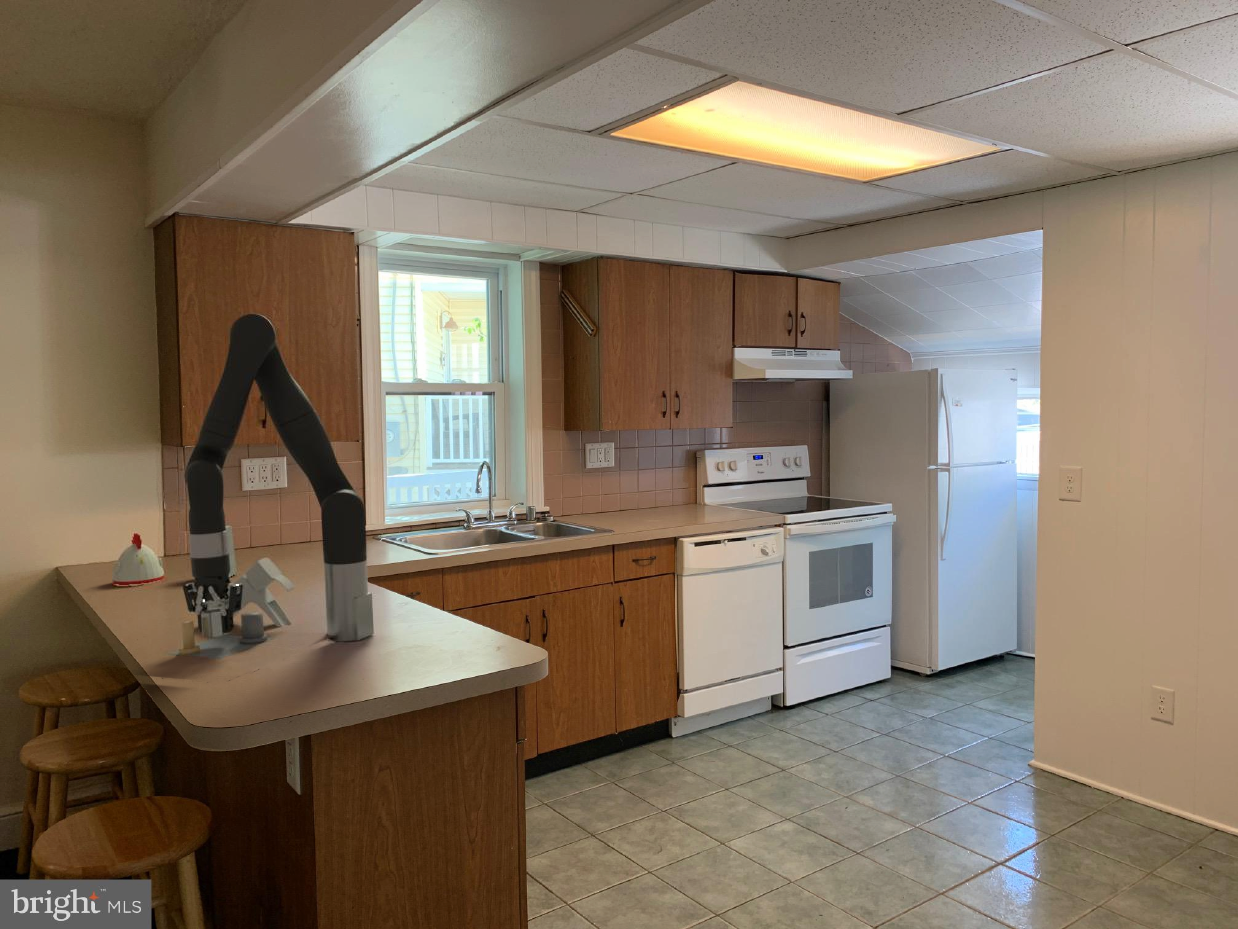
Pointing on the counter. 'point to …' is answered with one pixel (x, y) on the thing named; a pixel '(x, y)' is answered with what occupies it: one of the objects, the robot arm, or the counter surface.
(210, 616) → the tube
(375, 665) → the counter surface
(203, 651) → the board
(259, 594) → the faucet
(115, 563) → the chicken hat
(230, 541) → the skincare box
